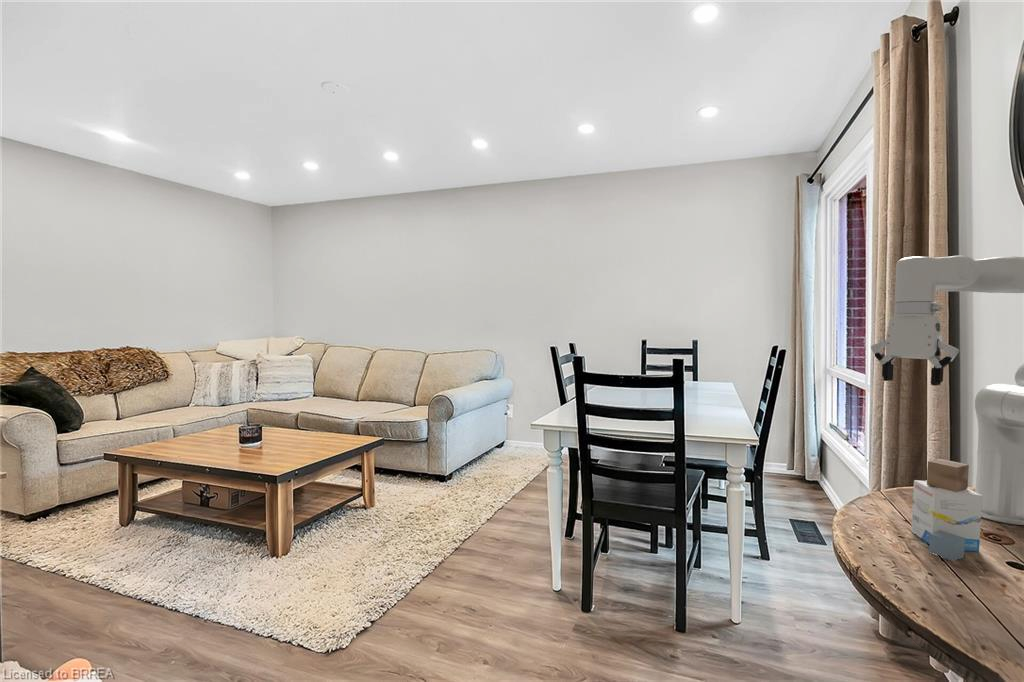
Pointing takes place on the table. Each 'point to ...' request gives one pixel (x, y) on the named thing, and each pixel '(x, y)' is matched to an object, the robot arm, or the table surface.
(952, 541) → the slate block
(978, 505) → the ink box
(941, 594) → the table surface
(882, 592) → the table surface
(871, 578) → the table surface
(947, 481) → the walnut block
